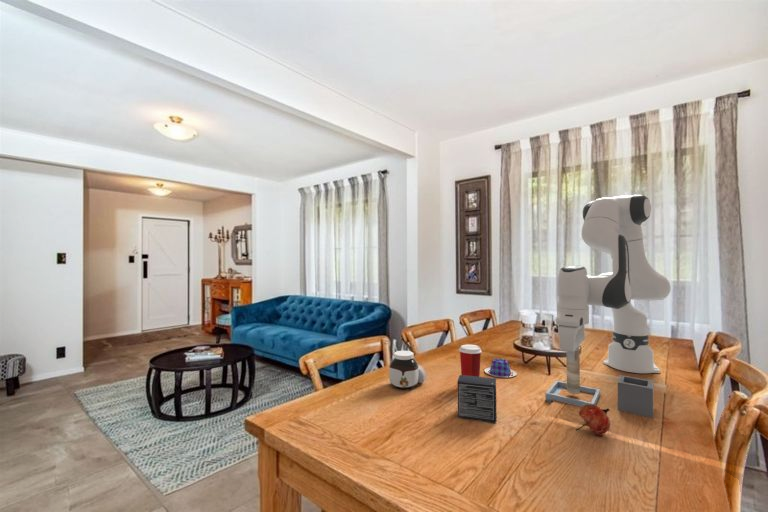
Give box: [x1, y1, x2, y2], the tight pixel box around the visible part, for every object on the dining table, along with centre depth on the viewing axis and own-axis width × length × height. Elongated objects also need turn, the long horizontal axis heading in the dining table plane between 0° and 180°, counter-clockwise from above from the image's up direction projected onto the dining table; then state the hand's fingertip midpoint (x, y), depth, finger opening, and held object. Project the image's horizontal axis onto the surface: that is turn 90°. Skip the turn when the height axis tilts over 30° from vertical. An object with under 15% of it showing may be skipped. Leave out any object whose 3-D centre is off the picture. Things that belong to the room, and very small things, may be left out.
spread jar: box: [388, 350, 427, 391], centre depth 121 cm, size 12×11×12 cm
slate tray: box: [545, 380, 601, 408], centre depth 108 cm, size 14×13×2 cm
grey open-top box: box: [617, 374, 655, 419], centre depth 99 cm, size 8×8×9 cm
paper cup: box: [458, 344, 482, 377], centre depth 119 cm, size 8×8×14 cm
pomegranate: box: [575, 404, 611, 436], centre depth 88 cm, size 7×7×10 cm
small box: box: [456, 374, 498, 424], centre depth 97 cm, size 11×6×10 cm, turn 71°
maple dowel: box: [566, 350, 581, 395], centre depth 109 cm, size 4×4×13 cm
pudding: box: [484, 358, 518, 378], centre depth 133 cm, size 12×12×5 cm
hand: (573, 360), depth 109 cm, fingers closed on maple dowel, 4 cm apart
